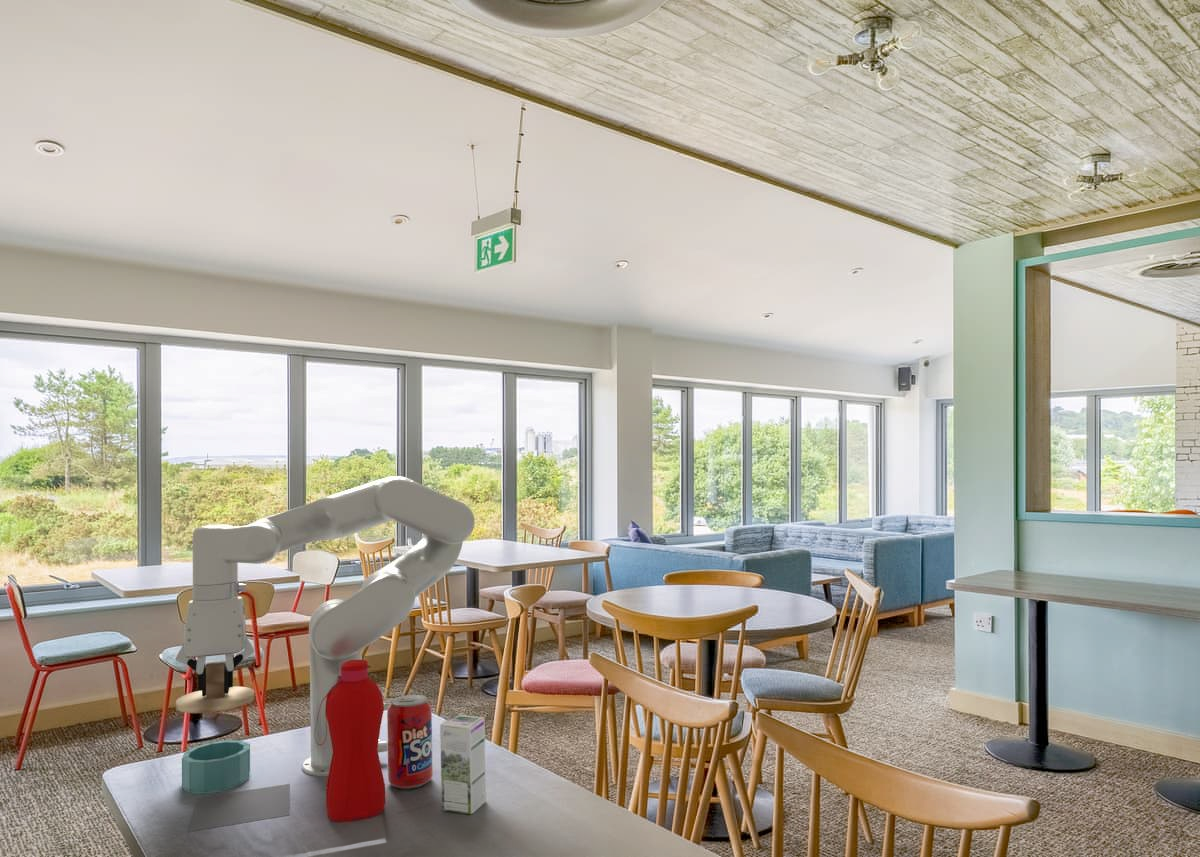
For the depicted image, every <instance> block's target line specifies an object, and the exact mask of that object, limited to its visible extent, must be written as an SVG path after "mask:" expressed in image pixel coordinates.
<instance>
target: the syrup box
mask: <svg viewBox="0 0 1200 857" xmlns="http://www.w3.org/2000/svg"><path fill="white" fill-rule="evenodd" d="M485 722H486V721H485V717H483V716H474V715H465V714H464V715H463V714H462V715H461V714H454V715H452V716H450V717H448V718H447V719H446V720H444V721H443V722H442V723H440V725H439V727H440V728H439V729H440V730H439V732H440V733H439V734H440V735H439V736H440V738H439V739H440V773H441V774H440V776H441V777H440V780H441V781H440V783H441V786H440V787H441V810H442V811H444V812H451V813H458V814H464V815H465V814H466V815H473V814H474V813H475V812H477V811H478V810H479V808H481V807H482V806H483V805H484V804H485V803H486V802H487V786H486V785H487V784H486V733H485V732H486V729H485V728H486V727H485V726H486V725H485Z"/></svg>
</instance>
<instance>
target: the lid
mask: <svg viewBox="0 0 1200 857" xmlns="http://www.w3.org/2000/svg"><path fill="white" fill-rule="evenodd" d="M205 667H206V696H202V691H198V690H197V691H192V692H189V693H187V694H184V695H182V696H180V697H178V698H177V699H176V701H175V709H176V710H177V711H179V712H181V713H187V714H207V713H217V712H222V711H229V710H232V709H235V708H240V707H243V706H245V705H247V704H249V703H250V702H253V701H254V699H255V690H254V689H253V688H250V687H248V686H247V687H246V686H236V685H235V686H234V685H233V687H230V688H229V692H228V694H225V693H224V672H225V667H226V660H220V661H219V660H218V661H209V662H207V663H206V664H205Z"/></svg>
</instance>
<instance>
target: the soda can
mask: <svg viewBox="0 0 1200 857" xmlns="http://www.w3.org/2000/svg"><path fill="white" fill-rule="evenodd" d="M428 699H429V697H427V696H426V695H423V694H407V695H401V696H397V697H395V698H393V699H391V701H390V703H391V704H390V706H389V707H388V709H387V713H386V720H387V722H386V725H387V726H386V727H387V729H386V730H387V745H388V751H387V780H388V783H389V784H390V785H391V786H393V787H395V788H397V789H399V790H400V789H401V790H412V789H417V788H421V787H423V786H424V785H425V784H427V783H428V782H430V780H432V778H433V775H434V774H433V773H434V770H433V768H434V767H433V716H432V715H433V714H432V712H433V711H432V704H430V702H429V701H428Z"/></svg>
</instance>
